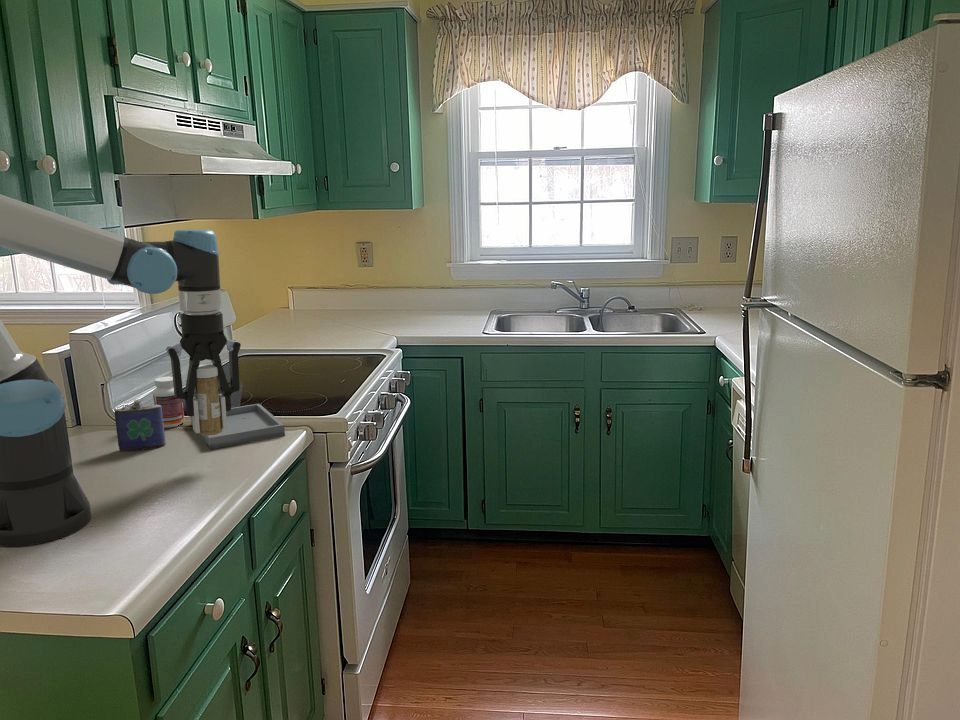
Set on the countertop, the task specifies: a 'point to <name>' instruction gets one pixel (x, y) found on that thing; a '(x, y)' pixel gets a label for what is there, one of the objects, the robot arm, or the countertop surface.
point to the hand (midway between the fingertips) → (210, 429)
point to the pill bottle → (168, 402)
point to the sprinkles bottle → (208, 400)
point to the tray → (245, 427)
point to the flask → (139, 427)
